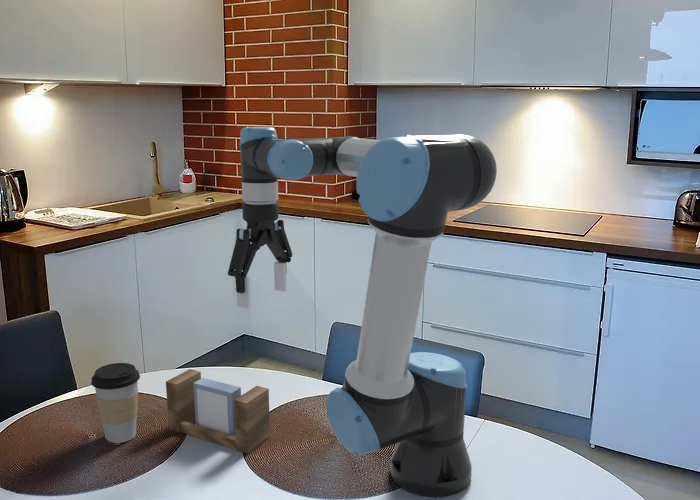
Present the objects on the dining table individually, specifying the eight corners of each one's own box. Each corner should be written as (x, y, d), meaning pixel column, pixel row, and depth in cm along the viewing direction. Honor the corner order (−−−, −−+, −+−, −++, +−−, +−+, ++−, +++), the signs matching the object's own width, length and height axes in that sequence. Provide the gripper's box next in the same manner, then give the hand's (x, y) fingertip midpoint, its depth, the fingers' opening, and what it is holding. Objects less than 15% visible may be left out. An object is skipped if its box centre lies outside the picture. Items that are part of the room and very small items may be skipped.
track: (270, 437, 135) (268, 388, 133) (248, 454, 129) (246, 403, 126) (192, 414, 145) (190, 368, 142) (168, 429, 138) (165, 381, 136)
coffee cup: (129, 451, 130) (123, 381, 126) (87, 446, 132) (80, 377, 128) (152, 428, 139) (147, 363, 135) (112, 424, 141) (107, 359, 137)
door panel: (242, 435, 136) (240, 387, 134) (232, 442, 133) (230, 393, 131) (205, 424, 141) (203, 377, 138) (195, 431, 138) (192, 383, 135)
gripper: (278, 193, 148) (280, 282, 153) (207, 208, 127) (211, 311, 132) (306, 195, 145) (307, 286, 150) (237, 211, 123) (241, 317, 128)
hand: (263, 298), depth 141 cm, fingers open, 13 cm apart
